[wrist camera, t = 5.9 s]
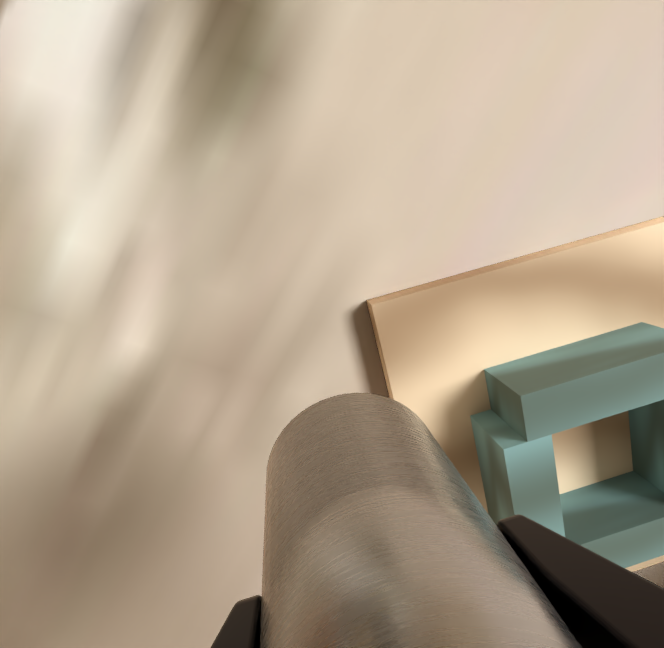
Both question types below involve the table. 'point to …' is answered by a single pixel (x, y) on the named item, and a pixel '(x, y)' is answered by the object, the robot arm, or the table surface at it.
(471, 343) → the socket board
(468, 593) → the steel pin
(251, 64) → the table surface
